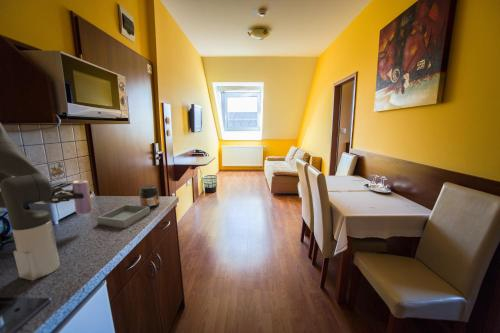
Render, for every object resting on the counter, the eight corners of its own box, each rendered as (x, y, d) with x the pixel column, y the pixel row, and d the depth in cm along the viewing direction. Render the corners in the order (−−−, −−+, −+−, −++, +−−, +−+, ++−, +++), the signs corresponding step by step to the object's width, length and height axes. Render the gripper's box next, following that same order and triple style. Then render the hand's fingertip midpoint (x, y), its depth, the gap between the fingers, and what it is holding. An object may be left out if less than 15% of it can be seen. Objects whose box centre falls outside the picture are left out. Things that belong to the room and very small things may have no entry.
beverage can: (83, 215, 99) (79, 183, 96) (72, 214, 100) (68, 182, 98) (95, 210, 105) (91, 180, 102) (84, 209, 106) (80, 179, 103)
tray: (124, 228, 104) (123, 220, 104) (98, 224, 108) (96, 217, 108) (150, 213, 121) (149, 206, 121) (126, 210, 126) (125, 204, 125)
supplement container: (152, 209, 127) (150, 190, 124) (136, 208, 129) (134, 188, 127) (163, 203, 137) (161, 184, 135) (148, 202, 139) (146, 184, 137)
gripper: (31, 192, 92) (75, 190, 93) (58, 183, 106) (95, 182, 107) (35, 209, 93) (77, 207, 94) (60, 198, 107) (97, 196, 108)
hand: (87, 194), depth 101 cm, fingers closed on beverage can, 5 cm apart
